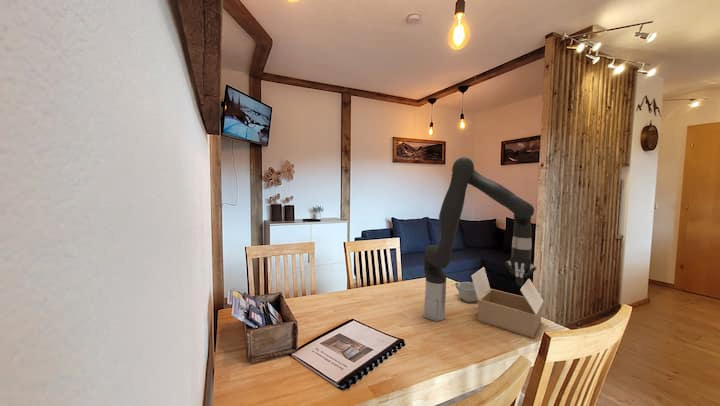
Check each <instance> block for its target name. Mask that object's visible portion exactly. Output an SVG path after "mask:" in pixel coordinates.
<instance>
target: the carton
mask: <svg viewBox="0 0 720 406" xmlns="http://www.w3.org/2000/svg"><path fill="white" fill-rule="evenodd" d="M477 307H478V311H477V323H478V322H479V323H482V324H485V325H488V326H492V327H495V328H497V329H500V330H504V331H508V332H510V333H514V334H517V335H519V336H523V337H527V338H529V339H533V340H534V339H535V337H536V334H537V331H538V330H539V328H540V326H541V323H542V315H543V314H542V313H543V304H542V305H541V307H540V309H539V311H538V313H537V314H536V315H535V313H534V311H533V310H532V308H531V307H530V305H529V303H528V302H527V300H526V299H525V297H524V295H518V294H514V293H510V292H507V291H506V292H505V291H501V290H497V289H494V288H490V289H489V290H488V291H487V292H486V293H485V294H484V295H483V296H482V297H481V298H480V299H478V306H477Z"/></svg>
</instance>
